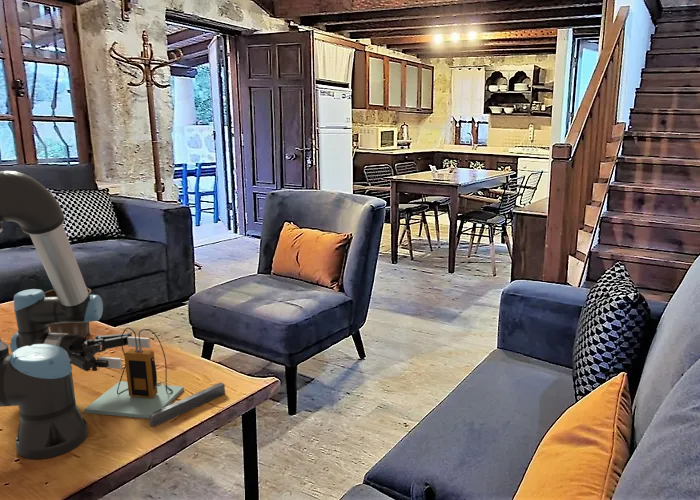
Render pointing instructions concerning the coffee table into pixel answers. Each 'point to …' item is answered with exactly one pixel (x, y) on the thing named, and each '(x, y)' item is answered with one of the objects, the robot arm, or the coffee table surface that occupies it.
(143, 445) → the coffee table surface
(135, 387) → the corded orange upright block
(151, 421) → the guide rail
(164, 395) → the plate
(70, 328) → the plant pot
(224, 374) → the coffee table surface
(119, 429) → the coffee table surface
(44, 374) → the robot arm
